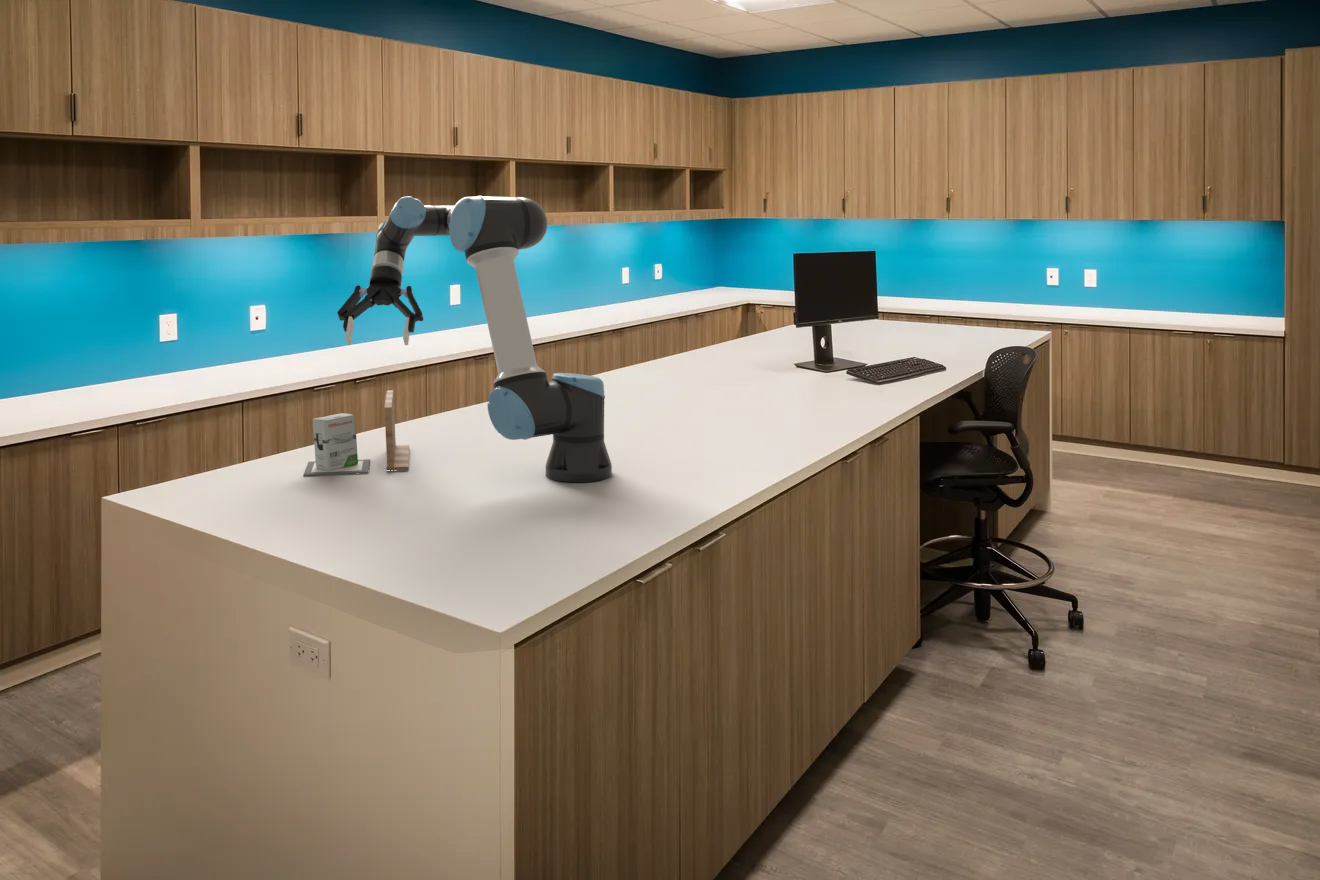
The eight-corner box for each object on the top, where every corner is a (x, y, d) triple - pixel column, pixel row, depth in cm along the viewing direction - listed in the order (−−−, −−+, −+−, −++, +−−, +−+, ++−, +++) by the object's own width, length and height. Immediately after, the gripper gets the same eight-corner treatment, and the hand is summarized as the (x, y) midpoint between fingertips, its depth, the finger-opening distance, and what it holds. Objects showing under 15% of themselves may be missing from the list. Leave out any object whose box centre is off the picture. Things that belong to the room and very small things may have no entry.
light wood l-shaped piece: (408, 470, 240) (406, 406, 236) (386, 471, 238) (383, 407, 235) (409, 448, 260) (406, 389, 257) (388, 449, 259) (385, 390, 256)
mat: (368, 473, 237) (367, 471, 237) (303, 476, 234) (303, 474, 233) (370, 460, 248) (370, 458, 248) (308, 463, 245) (308, 461, 245)
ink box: (345, 461, 246) (343, 411, 243) (359, 464, 243) (356, 414, 240) (314, 468, 239) (311, 417, 236) (327, 471, 236) (324, 420, 233)
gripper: (439, 284, 264) (431, 351, 253) (339, 283, 263) (327, 350, 251) (435, 264, 257) (427, 332, 246) (332, 263, 256) (320, 331, 245)
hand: (376, 341), depth 249 cm, fingers open, 13 cm apart
